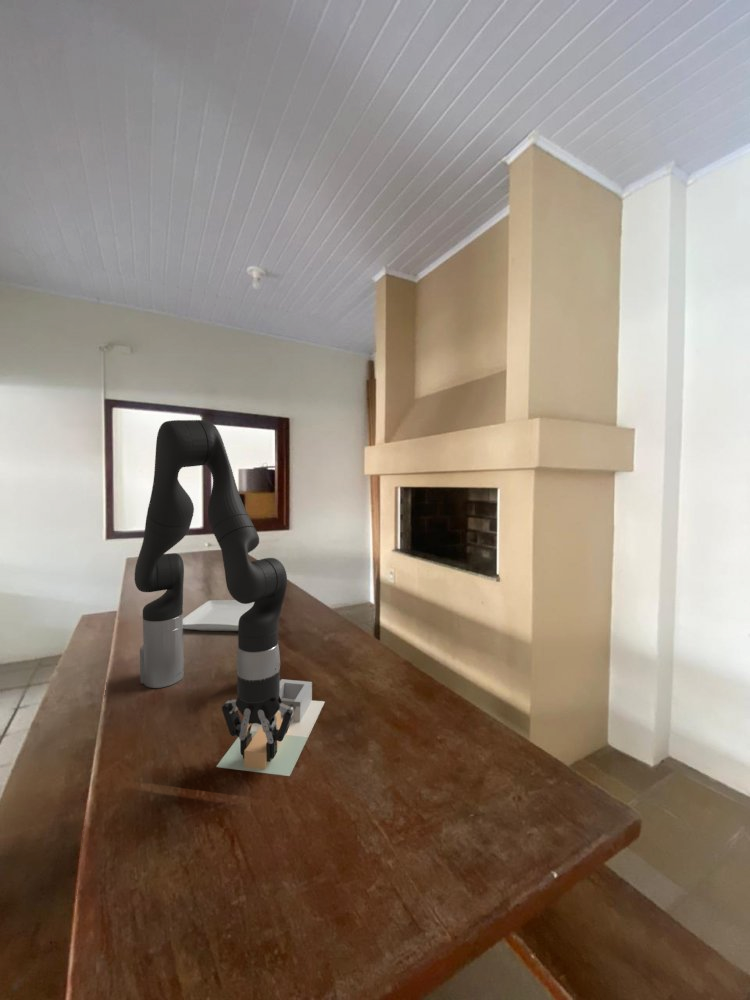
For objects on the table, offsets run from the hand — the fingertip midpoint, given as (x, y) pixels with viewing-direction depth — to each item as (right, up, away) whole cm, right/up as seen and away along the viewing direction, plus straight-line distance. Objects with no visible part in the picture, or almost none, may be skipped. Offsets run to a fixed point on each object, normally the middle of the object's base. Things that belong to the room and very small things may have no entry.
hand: (259, 756), depth 73 cm
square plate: (-33, +2, +74) cm, 81 cm away
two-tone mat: (+1, -1, +9) cm, 9 cm away
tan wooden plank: (+1, -1, +4) cm, 4 cm away
